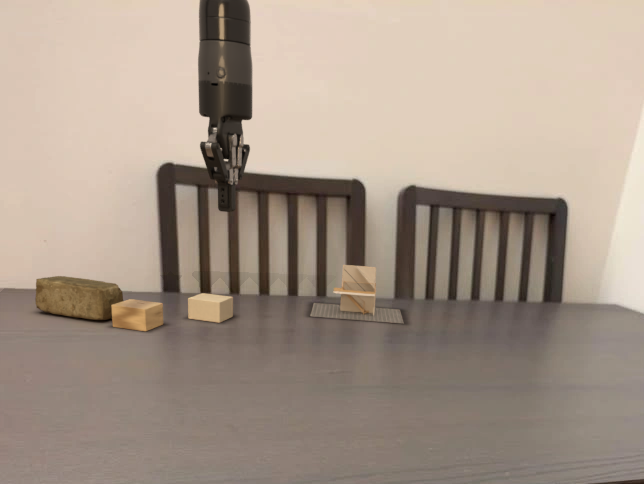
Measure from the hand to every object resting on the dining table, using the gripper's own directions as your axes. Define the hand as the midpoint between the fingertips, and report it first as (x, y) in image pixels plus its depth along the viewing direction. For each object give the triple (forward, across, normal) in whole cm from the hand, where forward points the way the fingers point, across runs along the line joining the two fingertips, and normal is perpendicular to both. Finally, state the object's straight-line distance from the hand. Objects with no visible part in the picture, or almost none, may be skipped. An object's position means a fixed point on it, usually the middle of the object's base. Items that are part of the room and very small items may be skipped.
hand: (226, 211), depth 110 cm
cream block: (+15, +7, 0) cm, 16 cm away
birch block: (+15, +17, -6) cm, 23 cm away
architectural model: (+15, -10, +19) cm, 26 cm away
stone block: (+15, +16, -16) cm, 27 cm away
